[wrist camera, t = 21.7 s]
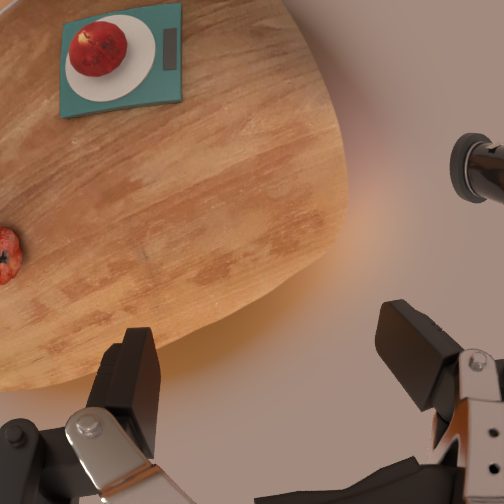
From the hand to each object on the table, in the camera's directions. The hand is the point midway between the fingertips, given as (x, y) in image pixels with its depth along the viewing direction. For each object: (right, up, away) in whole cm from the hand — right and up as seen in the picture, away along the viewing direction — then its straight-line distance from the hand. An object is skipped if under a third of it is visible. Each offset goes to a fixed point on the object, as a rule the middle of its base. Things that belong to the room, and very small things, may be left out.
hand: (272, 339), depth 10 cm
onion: (-16, +23, +16) cm, 33 cm away
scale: (-16, +25, +19) cm, 35 cm away
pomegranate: (-34, +4, +24) cm, 41 cm away
